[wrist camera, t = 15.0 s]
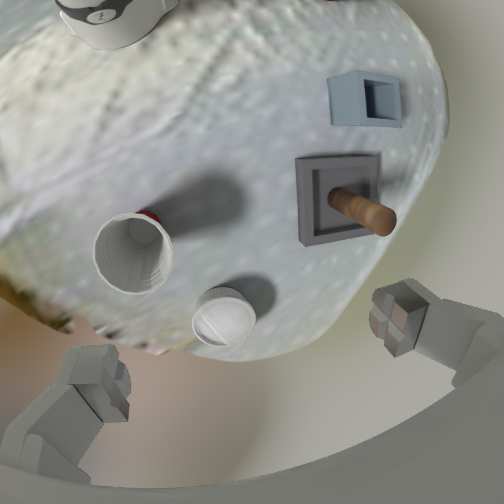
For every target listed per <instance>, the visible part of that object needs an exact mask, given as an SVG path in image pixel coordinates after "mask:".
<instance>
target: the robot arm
mask: <svg viewBox="0 0 504 504" xmlns="http://www.w3.org/2000/svg"><path fill="white" fill-rule="evenodd" d="M55 1H56V4H57V5H58V7H59V8H60V10H61V12H60V16H61V17H62V19H63V20H64V21H65V22H66V24H67V26H66V32H67V34H68V35H71V36H75V37H79V38H80V39H82V40H83V41H84V42H85V43H86V44H87V45H88V46H90V47H92V48H95V49H99V50H112V49H118V48H121V47H125V46H127V45H130V44H132V43H134V42H136V41H137V40H139V39H141V38H142V37H143V36H145V35H146V34H147V33H148V32H150V31H151V30H152V29H153V27H154V26H155V25H156V24H157V22H158V21H159V20H160V18H161V17H162V16H163V15H164V14H165V13H167V12H169V11H170V10H172V9H173V8H174V7H176V6H177V4H178V0H55ZM372 301H373V303H374V304H375V305H374V306H373V308H372V309H371V311H370V314H369V322H370V327H371V329H372V331H373V333H374V334H375V335H376V337H378V338H381V339H383V340H384V346H385V347H386V348H387V349H388V351H390V353H391V354H392V355H393V356H394V357H398V356H400V355H402V354H404V353H407V352H409V351H411V350H413V349H414V351H416V352H418V353H420V354H422V355H424V356H426V357H428V358H431V359H433V360H435V361H437V362H439V363H441V364H443V365H445V366H447V367H449V368H451V369H454V370H456V371H457V372H456V374H455V376H454V377H453V379H452V385H453V386H454V387H455V389H454V390H453V391H451V392H450V393H449V394H447V395H446V396H444V397H443V398H441V399H440V400H438V401H437V402H435V403H434V404H432V405H431V406H429V407H428V408H426V409H424V410H423V411H421V412H419V413H418V414H416V415H414V416H413V417H411V418H409V419H407V420H406V421H404V422H402V423H400V424H398V425H397V426H395V427H393V428H391V429H389V430H387V431H385V432H383V433H381V434H379V435H377V436H375V437H373V438H371V439H368V440H366V441H364V442H362V443H360V444H357V445H355V446H353V447H350V448H348V449H345V450H343V451H340V452H338V453H335V454H333V455H330V456H328V457H324V458H322V459H319V460H316V461H313V462H310V463H307V464H303V465H300V466H297V467H294V468H290V469H286V470H283V471H279V472H275V473H272V474H267V475H263V476H258V477H253V478H249V479H243V480H238V481H232V482H226V483H219V484H211V485H203V486H192V487H177V488H123V487H110V486H99V485H91V484H90V481H91V478H90V476H89V475H88V474H87V473H86V472H84V471H83V470H81V469H80V468H79V467H78V466H77V465H78V463H79V461H80V460H81V458H82V457H83V455H84V454H85V452H86V450H87V449H88V448H89V446H90V444H91V443H92V441H93V440H94V438H95V437H96V435H97V434H98V432H99V431H100V429H101V428H102V426H103V425H104V424H103V423H114V422H128V417H129V403H128V401H127V400H126V398H127V397H128V395H129V394H130V393H131V380H130V375H129V372H128V369H127V367H126V365H125V364H124V363H122V362H121V361H119V360H118V358H119V352H118V351H117V349H116V347H115V345H113V344H105V345H91V346H79V347H71V348H69V349H68V350H67V353H66V355H65V358H64V360H63V363H62V366H61V368H60V371H59V374H58V377H57V380H56V382H55V385H50V386H49V387H48V388H47V389H46V390H45V391H44V392H43V393H42V394H41V395H40V396H39V397H38V398H36V399H35V400H34V401H33V402H32V403H31V404H30V405H29V406H28V407H27V408H26V409H25V410H24V411H23V412H22V413H21V414H20V415H19V416H18V417H17V418H16V419H15V420H14V421H13V422H12V423H11V424H10V425H9V426H8V427H7V428H6V431H5V434H4V438H3V441H2V445H1V448H0V504H504V318H503V317H502V316H501V315H500V314H498V313H495V312H492V311H488V310H484V309H481V308H477V307H473V306H470V305H466V304H462V303H459V302H455V301H451V300H448V299H442V300H441V299H440V298H439V297H437V296H436V295H435V294H433V293H432V292H431V291H430V290H428V289H427V288H426V287H424V286H423V285H421V284H420V283H419V282H418V281H416V280H415V279H413V278H407V279H405V280H402V281H399V282H397V283H394V284H391V285H388V286H385V287H382V288H378V289H376V290H375V291H374V293H373V296H372Z"/></svg>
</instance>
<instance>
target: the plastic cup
mask: <svg viewBox="0 0 504 504" xmlns="http://www.w3.org/2000/svg"><path fill="white" fill-rule="evenodd" d="M93 261H94V264H95V266H96V269H97V271H98V274H99V275H100V276H101V277H102V278H103V280H104V281H105V282H106V283H107V284H108V285H109V286H110V287H112V288H114V289H116V290H118V291H120V292H121V293H124V294H132V295H142V294H145V293H149V292H153V291H154V290H156V289H157V288H158V287H160V286H161V285H162V284H164V283H165V282H166V280H167V278H168V276H169V275H170V273H171V271H172V269H173V262H174V249H173V246H172V243H171V239H170V236H169V235H168V234H167V233H166V231H165V230H164V229H163V228H162V225H161V222H160V220H159V219H158V218H157V216H156V215H154V214H152V213H151V212H147V211H140V212H136V213H123V214H120V215H117V216H114V217H111V218H110V219H109V220H108V221H107V222H106V223H104V224H103V225H102V226H101V227H100V228H99V230H98V232H97V235H96V237H95V239H94V242H93Z"/></svg>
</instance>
